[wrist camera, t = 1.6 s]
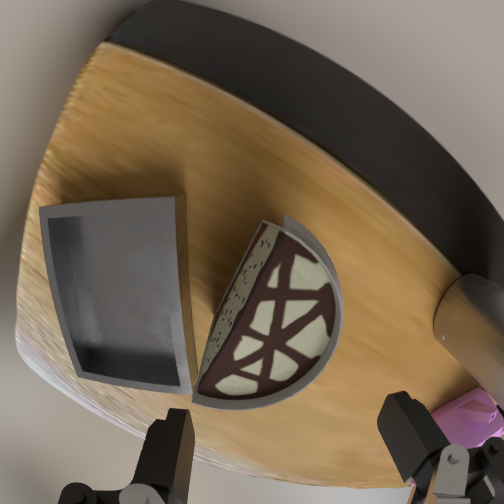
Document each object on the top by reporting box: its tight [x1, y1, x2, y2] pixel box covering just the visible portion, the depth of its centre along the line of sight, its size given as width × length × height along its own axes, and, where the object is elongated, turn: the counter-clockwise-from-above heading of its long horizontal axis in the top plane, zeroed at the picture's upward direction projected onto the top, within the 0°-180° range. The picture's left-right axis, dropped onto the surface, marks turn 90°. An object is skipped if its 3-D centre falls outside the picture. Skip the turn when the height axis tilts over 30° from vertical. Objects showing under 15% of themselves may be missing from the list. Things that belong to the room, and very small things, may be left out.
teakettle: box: [411, 387, 504, 487], centre depth 25 cm, size 17×17×12 cm
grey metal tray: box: [39, 194, 198, 395], centre depth 21 cm, size 12×17×4 cm
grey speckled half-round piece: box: [192, 214, 344, 411], centre depth 18 cm, size 12×6×10 cm, turn 154°
